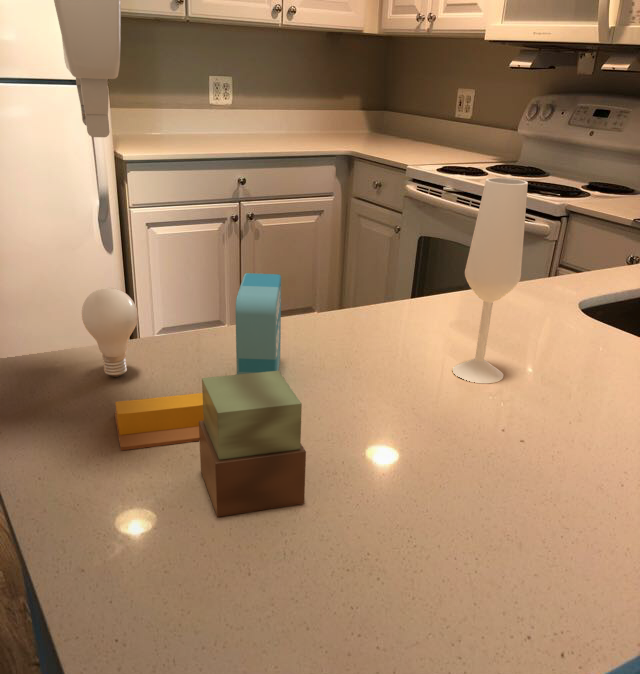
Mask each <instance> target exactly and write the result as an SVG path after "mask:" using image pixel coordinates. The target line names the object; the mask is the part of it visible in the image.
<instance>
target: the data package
mask: <svg viewBox="0 0 640 674" xmlns="http://www.w3.org/2000/svg"><path fill="white" fill-rule="evenodd" d="M281 325H282V276H281V274H279V273H278V274H276V273H254V272H253V273H251V272H249V273H248V272H245V273H244V274H243V277H242V280H241V282H240V286H239V289H238V292H237V295H236V298H235V357H236V360H235V361H236V363H235V365H236V375H239V374H249V373H259V372H270V371H279V372H280V365H281V338H282V337H281V332H282V331H281V330H282V329H281V328H282V326H281Z"/></svg>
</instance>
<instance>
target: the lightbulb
mask: <svg viewBox="0 0 640 674" xmlns="http://www.w3.org/2000/svg"><path fill="white" fill-rule="evenodd" d="M138 315H139V314H138V309H137V305H136V303H135V301H134V300H133V299H132V298H131V297H130V295H129V294H127V293H126V292H124V291H123V290H121V289H119V288H114V287H102V288H98V289H96V290H94V291H92V292H91V293H90V294H89V295H88V296H87V297H86V298H85V300H84V302H83V304H82V307H81V321H82V324H83V325H84V328H85V329H86V331H87V332H88V333H89V334H90V335H91V337H92V338H93V339H94V340H95V342H96V344H97V348H98V349H99V350H98V351H100V353H101V355H102V363H103V367H104V368H103V370H104V371H103V372H104V373H105V374H106V375H108V376H111V377H113V378H118V377H120V376H122V375H124V374H125V373H126V372H127V371H128V368H127V358H126V352H127V349H128V346H129V345H128V343H129V339H130V337H131V335H132V333H134V330H135V328H136V326H137V323H138Z"/></svg>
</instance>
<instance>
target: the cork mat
mask: <svg viewBox="0 0 640 674" xmlns="http://www.w3.org/2000/svg"><path fill="white" fill-rule="evenodd" d="M114 419H115V425H116V430H117V436H118V443H119V447H120V451H128V450H135V449H144V448H151V447H159V446H168V445H175V444H184V443H192V442H200V440H199V426H195V427H187V428H178V429H169V430H161V431H152V432H144V433H135V434H126V435H120V434H119V428H118V422H117V413H116V412H114Z"/></svg>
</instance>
